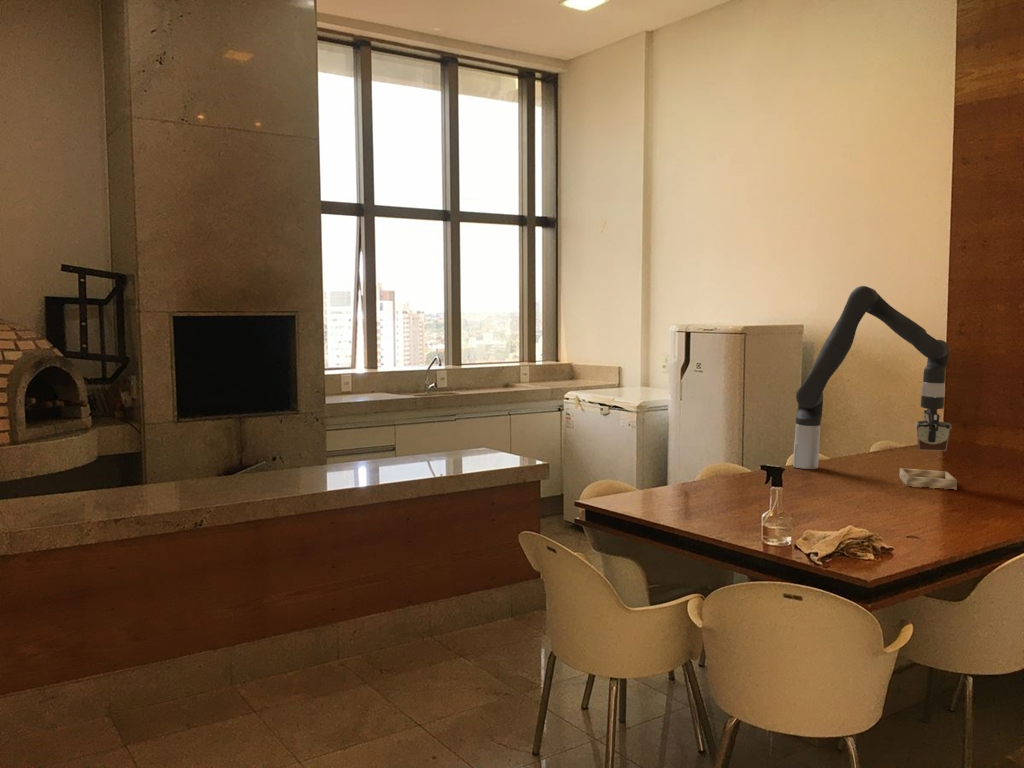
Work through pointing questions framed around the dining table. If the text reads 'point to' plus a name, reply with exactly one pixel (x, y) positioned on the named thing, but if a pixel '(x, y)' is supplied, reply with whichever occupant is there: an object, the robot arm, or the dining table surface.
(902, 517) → the dining table surface
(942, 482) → the whitewashed wooden tray
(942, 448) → the food container
